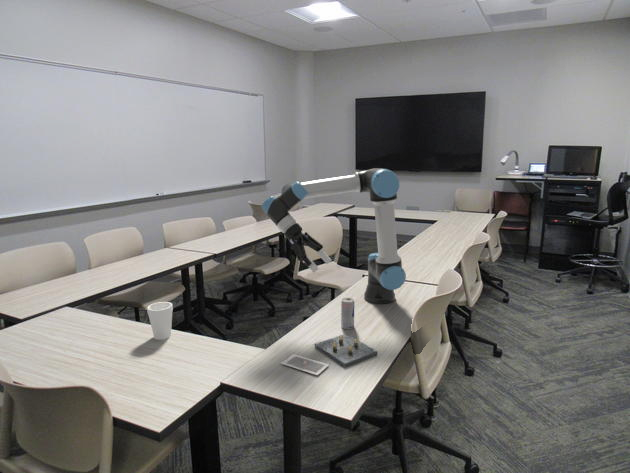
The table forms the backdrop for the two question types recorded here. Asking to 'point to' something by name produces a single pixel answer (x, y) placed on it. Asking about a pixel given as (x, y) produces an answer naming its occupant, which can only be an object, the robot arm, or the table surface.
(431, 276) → the table surface
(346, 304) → the energy drink
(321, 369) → the touchpad
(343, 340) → the standoff plate
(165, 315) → the foam cup
